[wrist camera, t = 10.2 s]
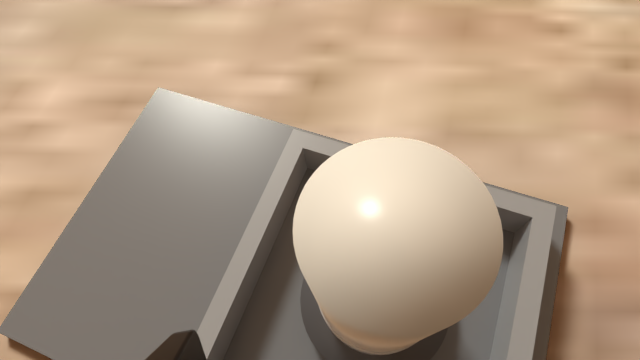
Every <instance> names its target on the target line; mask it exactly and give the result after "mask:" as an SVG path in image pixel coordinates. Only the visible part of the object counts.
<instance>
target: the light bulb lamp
mask: <svg viewBox="0 0 640 360" xmlns="http://www.w3.org/2000/svg"><path fill="white" fill-rule="evenodd" d="M293 245H294V250H295V254H296V258H297V261H298V264H299V267H300V270H301V272H302V274H303V276H304V279H303V283H302V288H301V297H300V304H301V314H302V319H303V323H304V326H305V329H306V332H307V334H308V336H309V338H310V340H311V342H312V343H313V345H314V346H315V348H316V349H317V351H318V352H319V353H320V354H321V355H322V356H323V358H325V359H326V360H430V359H431V358H432V357H433V356H434V355H435V354H436V352H437V351H438V349H439V348H440V346H441V345H442V342H443V340H444V338H445V336H446V333H447V330H448V327H450V326H452V325H453V324H455V323H457V322H458V321H460V320H462V319H463V318H465V317H466V316H467V315H468V314H470V313H471V312H472V311H473V310H474V309H475V308H476V307H477V306H478V305H479V304H480V303H481V302H482V301H483V300H484V298H485V297H486V295H487V294H488V292H489V291H490V289H491V288H492V286H493V284H494V282H495V279H496V277H497V275H498V272H499V268H500V265H501V261H502V254H503V231H502V224H501V220H500V216H499V213H498V209H497V207H496V205H495V202H494V200H493V198H492V196H491V194H490V193H489V191H488V189H487V188H486V186H485V185H484V183H483V182H482V181H481V180H480V178H479V177H478V176H477V175H476V174H475V173H474V172H473V171H472V170H471V169H470V168H469V167H468V166H467V165H466V164H465V163H463V162H462V161H461V160H460V159H458V158H457V157H455V156H454V155H452V154H450V153H449V152H447V151H445V150H443V149H441V148H439V147H437V146H435V145H432V144H429V143H426V142H423V141H419V140H414V139H409V138H400V137H384V138H376V139H370V140H366V141H362V142H359V143H356V144H353V145H350V146H348V147H346V148H344V149H342V150H340V151H339V152H337V153H336V154H334V155H333V156H331V157H330V158H328V159H327V160H326V161H325V162H324V163H323V164H321V165H320V166H319V167H318V169H317V170H316V171H315V172H314V173H313V174H312V176H311V177H310V178H309V180H308V181H307V183H306V184H305V186H304V188H303V190H302V192H301V194H300V196H299V199H298V202H297V205H296V209H295V213H294V218H293Z"/></svg>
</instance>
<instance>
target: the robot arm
mask: <svg viewBox="0 0 640 360" xmlns="http://www.w3.org/2000/svg"><path fill="white" fill-rule="evenodd" d="M145 360H207V359H206V356H205V353H204V350H203V347H202V344H201V341H200V338H199V336H198V334H197V332H196V331H195V330H193V329H191V330H186V331H180V332H175V333H173V334H172V335H170V336H169V337H168V338H167V339H166V340H165V341H164V342H163V343H162V344H161V345H160V346H159V347H158V348H157V349H156V350H154V351H153V352H152V353H151V354H150V355H149V356H148V357H147V358H146V359H145Z"/></svg>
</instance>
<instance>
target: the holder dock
mask: <svg viewBox="0 0 640 360" xmlns="http://www.w3.org/2000/svg"><path fill="white" fill-rule="evenodd" d="M350 145H353V144H350V143H347V142H343V141H340V140H337V139H333V138H330V137H326V136H323V135H320V134H316V133H313V132H309V131H306V130H302V129H299V128H296V127H292V126H289V125H285V124H282V123H278V122H275V121H272V120H268V119H265V118H261V117H258V116H255V115H251V114H248V113H244V112H241V111H237V110H234V109H231V108H227V107H224V106H220V105H217V104H214V103H210V102H207V101H203V100H200V99H196V98H193V97H190V96H186V95H183V94H179V93H176V92H173V91H169V90H166V89H162V88H159V87H158V89H157V90H156V92H155V93H154V95H153V96H152V98H151V99H150V101H149V102H148V104H147V105H146V107H145V108H144V110H143V111H142V113H141V114H140V116H139V117H138V119H137V120H136V122H135V123H134V125H133V126H132V128H131V129H130V131H129V132H128V134H127V135H126V137H125V138H124V140H123V141H122V143H121V144H120V146H119V148H118V149H117V151H116V152H115V154H114V155H113V157H112V158H111V160H110V161H109V163H108V164H107V166H106V167H105V169H104V170H103V172H102V173H101V175H100V176H99V178H98V179H97V181H96V182H95V184H94V185H93V187H92V188H91V190H90V191H89V193H88V194H87V196H86V197H85V199H84V200H83V202H82V204H81V205H80V207H79V208H78V210H77V211H76V213H75V214H74V216H73V217H72V219H71V220H70V222H69V223H68V225H67V226H66V228H65V229H64V231H63V232H62V234H61V235H60V237H59V238H58V240H57V241H56V243H55V244H54V246H53V247H52V249H51V250H50V252H49V253H48V255H47V256H46V258H45V260H44V261H43V263H42V264H41V266H40V267H39V269H38V270H37V272H36V273H35V275H34V276H33V278H32V279H31V281H30V282H29V284H28V285H27V287H26V288H25V290H24V291H23V293H22V294H21V296H20V297H19V299H18V300H17V302H16V303H15V305H14V306H13V308H12V309H11V311H10V312H9V314H8V315H7V317H6V319H5V320H4V322H3V323H2V325H1V326H0V334H3V335H5V336H7V337H9V338H11V339H13V340H15V341H17V342H19V343H21V344H23V345H25V346H27V347H29V348H31V349H33V350H35V351H37V352H39V353H41V354H43V355H45V356H47V357H49V358H51V359H53V360H145V359H146V358H147V357H148V356H149V355H150V354H151V353H152V352H153V351H154V350H156V349H157V348H158V347H159V346H160V345H161V344H162V343H163V342H164V341H165V340H166V339H167V338H168V337H169V336H170V335H172V334H173V333H175V332H180V331H186V330H191V329H193V330H195V331H196V332H197V334H198V336H199V338H200V341H201V344H202V347H203V350H204V353H205V356H206V359H207V360H326V359H325V358H323V356H322V355H321V354H320V353H319V352H318V351H317V349H316V348H315V346H314V345H313V343H312V342H311V340H310V338H309V336H308V334H307V332H306V329H305V326H304V323H303V319H302V314H301V304H300V297H301V288H302V283H303V279H304V276H303V274H302V272H301V270H300V267H299V264H298V261H297V258H296V254H295V250H294V245H293V218H294V213H295V209H296V205H297V202H298V199H299V196H300V194H301V192H302V190H303V188H304V186H305V184H306V183H307V181H308V180H309V178H310V177H311V176H312V174H313V173H314V172H315V171H316V170H317V169H318V167H319V166H320V165H321V164H323V163H324V162H325V161H326V160H327V159H328V158H330V157H331V156H333V155H334V154H336V153H337V152H339V151H340V150H342V149H344V148H346V147H348V146H350ZM483 183H484V182H483ZM484 185H485V186H486V188H487V189H488V191H489V193H490V194H491V196H492V198H493V200H494V202H495V205H496V207H497V209H498V213H499V216H500V220H501V224H502V231H503V254H502V261H501V265H500V268H499V272H498V275H497V277H496V279H495V282H494V284H493V286H492V288H491V289H490V291H489V292H488V294H487V295H486V297H485V298H484V300H483V301H482V302H481V303H480V304H479V305H478V306H477V307H476V308H475V309H474V310H473V311H472V312H471V313H470V314H468V315H467V316H466V317H465V318H463V319H462V320H460V321H458V322H457V323H455V324H453V325H452V326H450V327H448V330H447V333H446V336H445V338H444V340H443V342H442V345H441V346H440V348H439V349H438V351H437V352H436V354H435V355H434V356H433V357H432V358H431V359H430V360H546V355H547V348H548V341H549V335H550V328H551V321H552V314H553V308H554V301H555V294H556V287H557V280H558V274H559V267H560V260H561V253H562V246H563V240H564V233H565V226H566V219H567V213H568V207H566V206H562V205H559V204H555V203H552V202H549V201H545V200H542V199H538V198H535V197H531V196H528V195H525V194H521V193H518V192H514V191H511V190H508V189H504V188H501V187H497V186H494V185H490V184H487V183H484Z"/></svg>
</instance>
